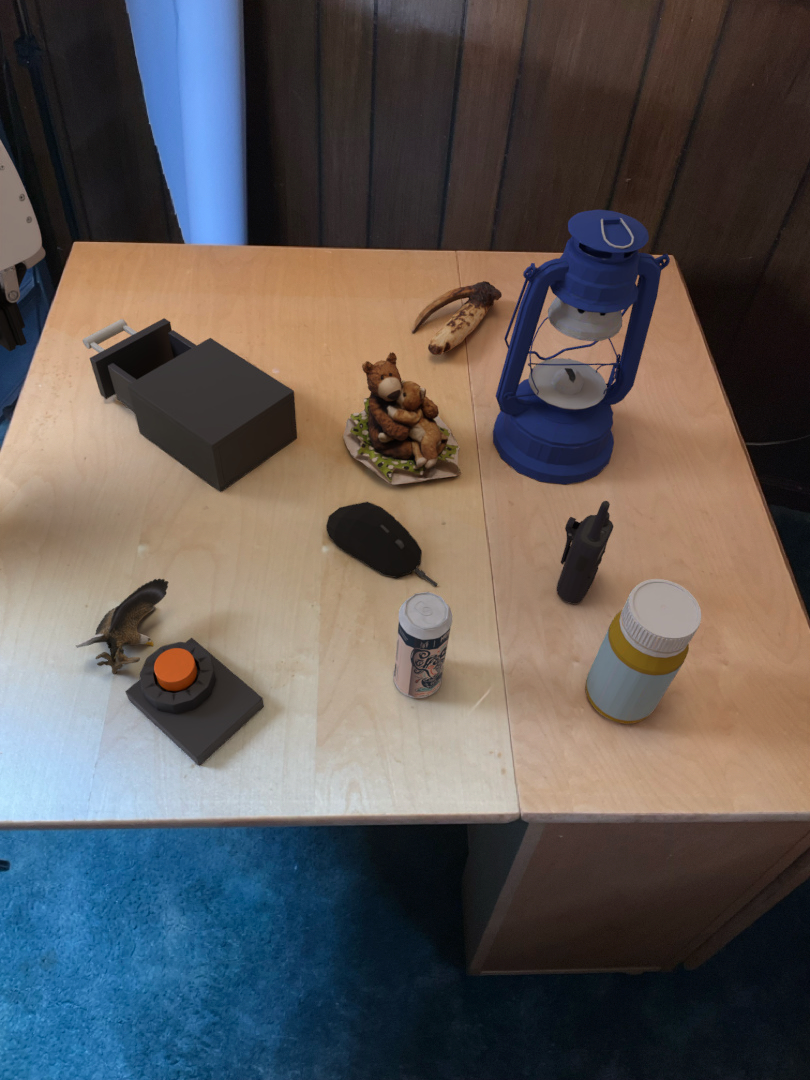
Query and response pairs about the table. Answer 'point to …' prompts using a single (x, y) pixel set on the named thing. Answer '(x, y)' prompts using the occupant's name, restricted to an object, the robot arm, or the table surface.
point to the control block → (196, 703)
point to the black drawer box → (214, 413)
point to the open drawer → (132, 355)
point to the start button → (175, 669)
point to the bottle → (642, 650)
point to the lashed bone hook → (459, 314)
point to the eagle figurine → (127, 624)
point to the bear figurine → (400, 430)
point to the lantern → (585, 314)
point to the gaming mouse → (375, 539)
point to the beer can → (421, 644)
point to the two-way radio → (583, 554)
